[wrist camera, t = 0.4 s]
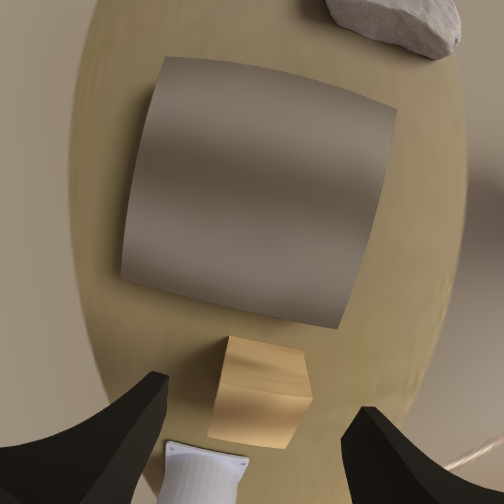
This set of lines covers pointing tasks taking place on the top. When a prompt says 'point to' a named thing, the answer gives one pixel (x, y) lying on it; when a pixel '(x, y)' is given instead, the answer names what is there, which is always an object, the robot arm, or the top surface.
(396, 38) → the stone block
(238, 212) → the base block
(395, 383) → the top surface
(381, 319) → the top surface
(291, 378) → the maple cube
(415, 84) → the top surface
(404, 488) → the robot arm
